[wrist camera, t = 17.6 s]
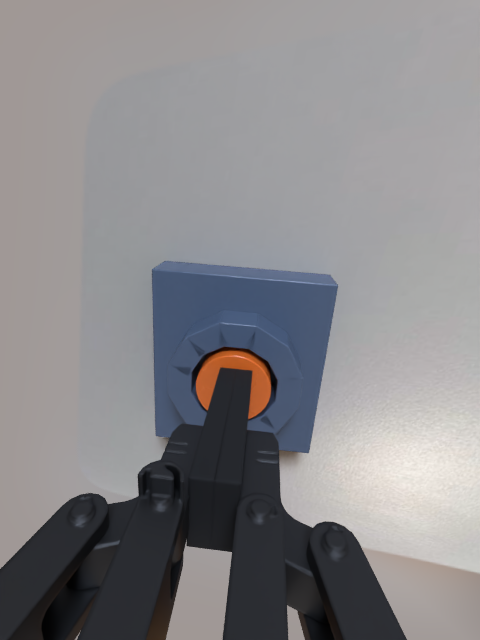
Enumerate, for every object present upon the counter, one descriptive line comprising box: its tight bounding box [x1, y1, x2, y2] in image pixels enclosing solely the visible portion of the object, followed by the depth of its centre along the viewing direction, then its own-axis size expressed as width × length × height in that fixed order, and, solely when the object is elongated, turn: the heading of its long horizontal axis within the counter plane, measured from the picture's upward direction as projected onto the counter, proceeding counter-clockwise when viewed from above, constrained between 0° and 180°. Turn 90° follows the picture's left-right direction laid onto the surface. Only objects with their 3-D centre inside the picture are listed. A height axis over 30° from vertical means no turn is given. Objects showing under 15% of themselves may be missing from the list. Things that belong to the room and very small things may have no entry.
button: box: [196, 347, 271, 419], centre depth 17 cm, size 4×4×2 cm
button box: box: [152, 261, 338, 453], centre depth 18 cm, size 10×9×4 cm
